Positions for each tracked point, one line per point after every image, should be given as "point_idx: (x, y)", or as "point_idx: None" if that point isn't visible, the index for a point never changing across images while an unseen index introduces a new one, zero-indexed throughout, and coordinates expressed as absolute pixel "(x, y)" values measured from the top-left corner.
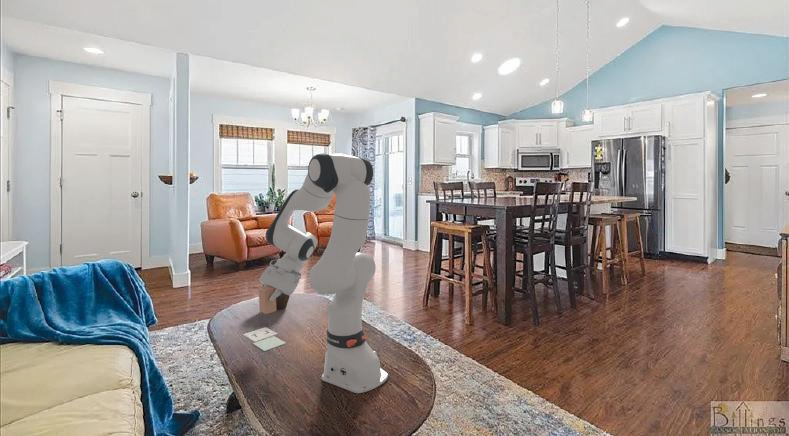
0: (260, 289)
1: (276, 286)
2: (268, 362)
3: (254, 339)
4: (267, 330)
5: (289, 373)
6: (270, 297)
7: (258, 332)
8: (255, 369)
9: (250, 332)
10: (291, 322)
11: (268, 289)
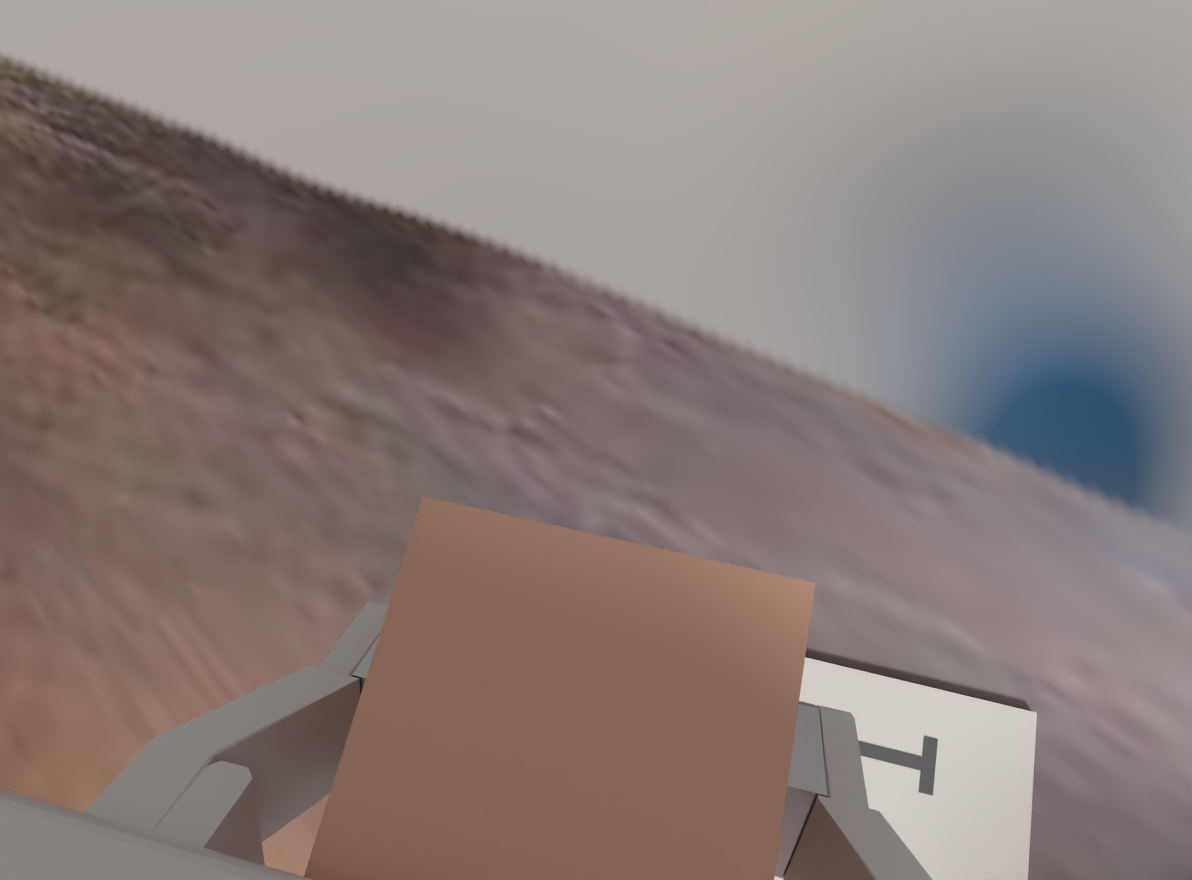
0: (686, 558)
1: (95, 874)
2: (370, 453)
3: (817, 684)
4: None
5: (122, 421)
6: (360, 624)
7: (942, 840)
8: (382, 339)
9: (1015, 790)
10: None
11: (405, 659)
